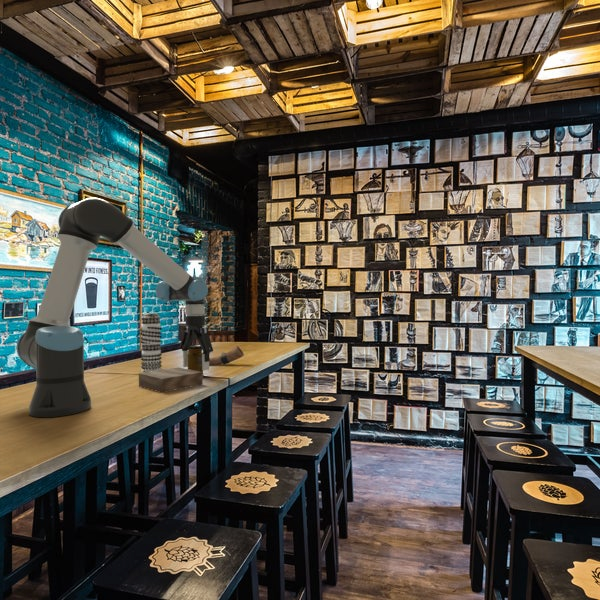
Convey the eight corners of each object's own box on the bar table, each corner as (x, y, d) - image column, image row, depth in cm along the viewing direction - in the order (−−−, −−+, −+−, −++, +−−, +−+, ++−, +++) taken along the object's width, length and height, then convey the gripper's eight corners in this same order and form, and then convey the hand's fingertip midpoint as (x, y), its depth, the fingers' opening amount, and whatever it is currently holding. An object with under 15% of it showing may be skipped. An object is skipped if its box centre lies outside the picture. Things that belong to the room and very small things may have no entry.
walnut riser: (162, 393, 138) (161, 378, 138) (138, 387, 149) (138, 373, 149) (202, 385, 150) (202, 372, 150) (178, 380, 161) (178, 367, 161)
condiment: (199, 373, 172) (199, 344, 172) (209, 376, 166) (208, 346, 165) (183, 376, 167) (182, 346, 167) (192, 379, 161) (191, 348, 161)
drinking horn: (243, 365, 191) (243, 344, 191) (178, 366, 191) (178, 344, 191) (244, 363, 197) (244, 342, 197) (182, 364, 197) (181, 343, 197)
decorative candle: (166, 368, 186) (165, 312, 186) (156, 372, 177) (155, 313, 177) (147, 368, 187) (146, 313, 187) (136, 371, 178) (135, 313, 178)
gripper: (221, 315, 161) (222, 370, 161) (186, 314, 177) (186, 364, 178) (205, 316, 155) (206, 372, 155) (170, 315, 172) (171, 366, 172)
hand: (195, 368), depth 166 cm, fingers open, 13 cm apart
